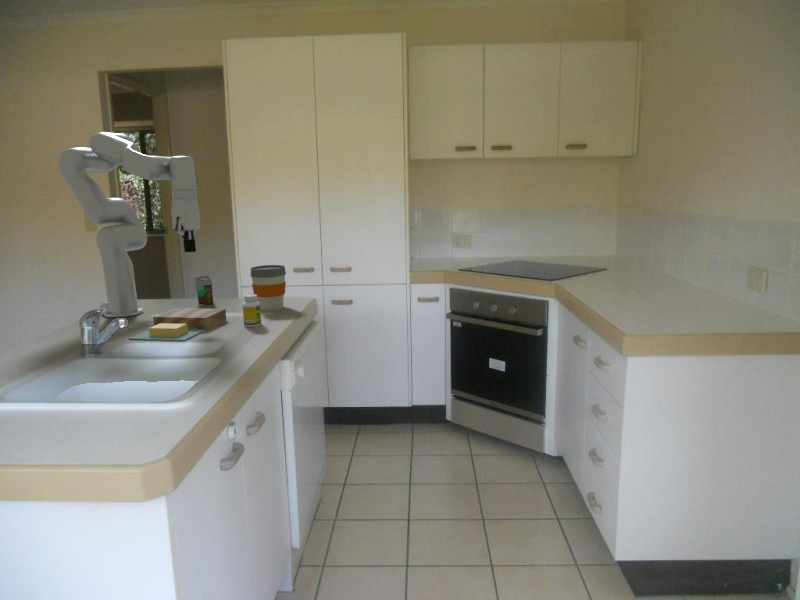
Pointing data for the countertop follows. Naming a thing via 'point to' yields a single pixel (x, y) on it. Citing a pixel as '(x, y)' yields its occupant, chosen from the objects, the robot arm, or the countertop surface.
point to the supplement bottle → (251, 311)
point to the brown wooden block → (192, 317)
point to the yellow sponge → (168, 330)
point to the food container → (204, 290)
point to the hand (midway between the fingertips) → (190, 251)
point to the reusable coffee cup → (269, 286)
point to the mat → (182, 337)
